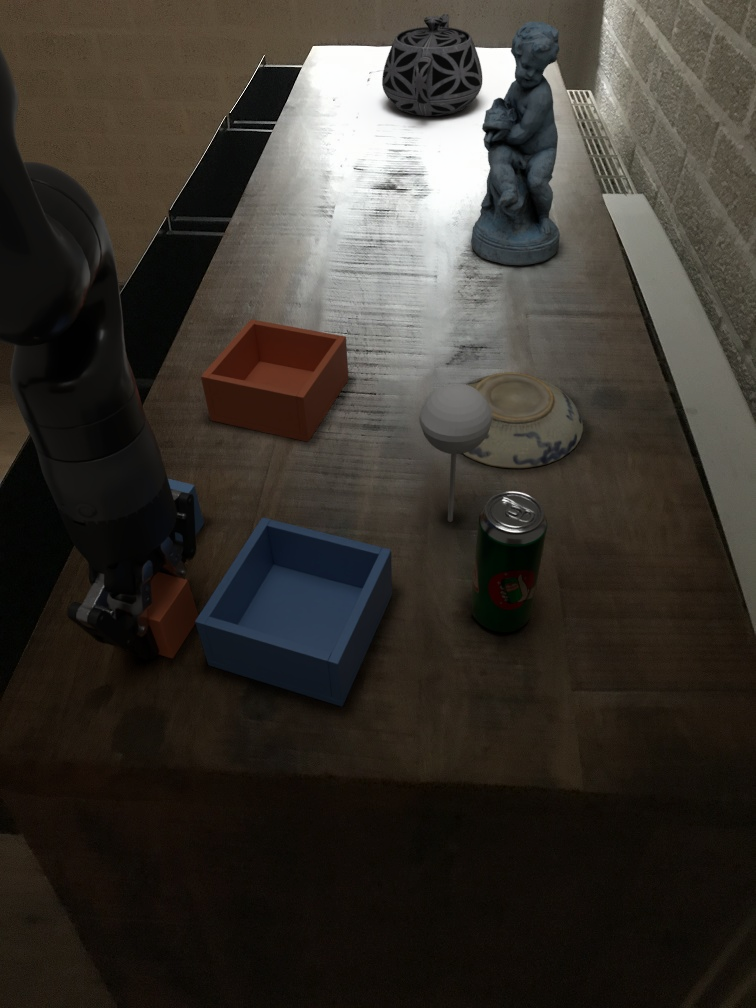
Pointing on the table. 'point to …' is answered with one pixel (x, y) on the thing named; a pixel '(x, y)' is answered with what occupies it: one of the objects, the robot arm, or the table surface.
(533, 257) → the statue
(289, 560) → the blue bin
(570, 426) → the decorative bowl
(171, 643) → the terracotta block
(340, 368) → the terracotta bin
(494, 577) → the soda can
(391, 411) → the table surface
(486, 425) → the lollipop
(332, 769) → the table surface
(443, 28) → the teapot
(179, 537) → the blue block
